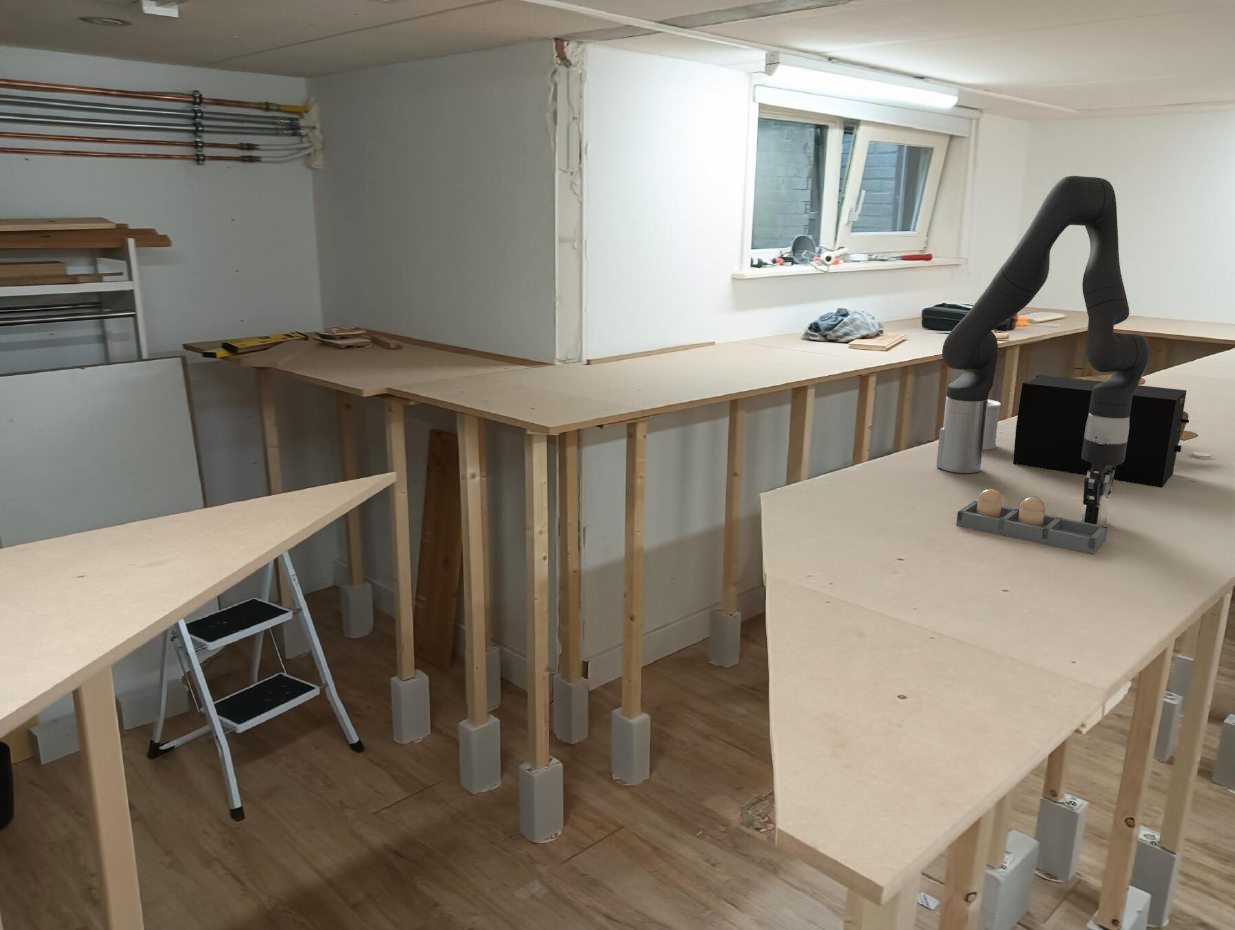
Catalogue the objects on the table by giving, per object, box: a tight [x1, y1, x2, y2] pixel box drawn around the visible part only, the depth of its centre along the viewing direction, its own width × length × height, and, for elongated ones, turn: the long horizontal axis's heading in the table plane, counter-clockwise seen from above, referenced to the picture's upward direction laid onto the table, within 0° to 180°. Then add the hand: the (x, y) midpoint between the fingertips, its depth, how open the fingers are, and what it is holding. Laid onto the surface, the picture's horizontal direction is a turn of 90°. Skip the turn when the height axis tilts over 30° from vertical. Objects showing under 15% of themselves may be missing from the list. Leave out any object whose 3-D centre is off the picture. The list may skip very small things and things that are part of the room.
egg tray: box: [956, 500, 1109, 555], centre depth 181 cm, size 25×9×3 cm, turn 50°
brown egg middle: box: [1018, 496, 1046, 527], centre depth 181 cm, size 4×4×6 cm
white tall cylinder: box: [983, 399, 1002, 451], centre depth 244 cm, size 10×9×20 cm
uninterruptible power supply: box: [1012, 374, 1190, 489], centre depth 222 cm, size 16×34×20 cm, turn 52°
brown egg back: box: [977, 488, 1003, 518], centre depth 186 cm, size 4×4×6 cm
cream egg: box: [1080, 496, 1109, 526], centre depth 186 cm, size 4×4×6 cm
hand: (1093, 520), depth 187 cm, fingers closed on cream egg, 4 cm apart
